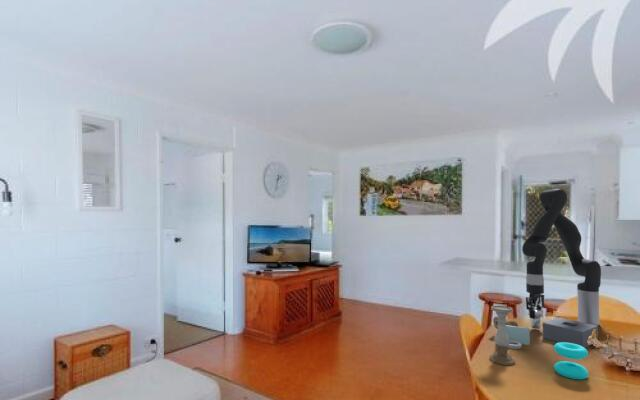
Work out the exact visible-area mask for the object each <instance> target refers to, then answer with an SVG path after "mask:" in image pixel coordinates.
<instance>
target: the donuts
mask: <svg viewBox="0 0 640 400" xmlns="http://www.w3.org/2000/svg"><path fill="white" fill-rule="evenodd" d="M553 350H554V351H555V353H557V354H558V355H559V356H561V357H563V358H567V359H570V360H584V359H585V358H587V357H588V355H589V352H588V350H587V349H586V348H584V347H582V346H580V345H577V344H573V343H567V342H556V343H555V344H554V345H553ZM553 367H554V371H555V372H556V373H557V374H559V375H560V376H563V377H565V378H568V379H571V380H572V379H573V380H585V379H587V378H588V376H589V371H588V370H587V368H586V367H585V366H583V365H582V364H579V363H577V362H574V361H569V360H559V361H557V362H556V363H555V364H554V366H553Z"/></svg>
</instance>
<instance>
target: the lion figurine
mask: <svg viewBox="0 0 640 400" xmlns="http://www.w3.org/2000/svg"><path fill="white" fill-rule="evenodd" d="M497 319H498V315H496V316H494V317H493V320H492V322H493V326H494V328H495V329H497V330H498V322H497V321H496V320H497ZM506 325H508V326H516V327H519V325H518V322H517V321H516V320H514V319H509V320H507V323H506Z"/></svg>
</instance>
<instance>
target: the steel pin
mask: <svg viewBox="0 0 640 400" xmlns="http://www.w3.org/2000/svg"><path fill="white" fill-rule="evenodd" d="M527 315H528V316H529V310H528V309H527ZM542 317H544V310H543V309H542V310H540V309H536V308H535V318H534V319H532V318H530V326H531V328H532V329H537V330H539V329H541V327H542V325H541V318H542Z"/></svg>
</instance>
